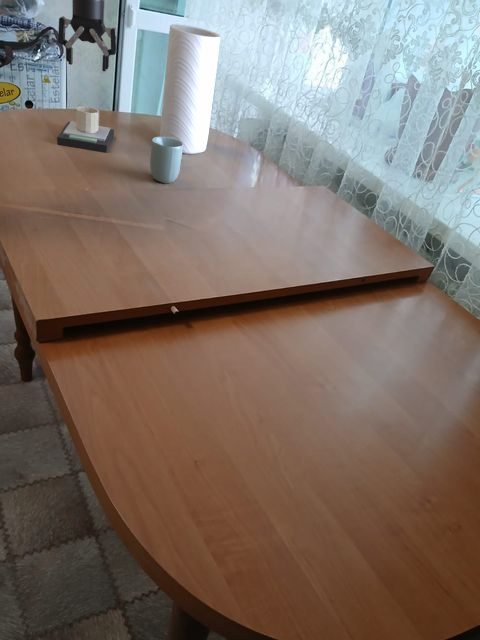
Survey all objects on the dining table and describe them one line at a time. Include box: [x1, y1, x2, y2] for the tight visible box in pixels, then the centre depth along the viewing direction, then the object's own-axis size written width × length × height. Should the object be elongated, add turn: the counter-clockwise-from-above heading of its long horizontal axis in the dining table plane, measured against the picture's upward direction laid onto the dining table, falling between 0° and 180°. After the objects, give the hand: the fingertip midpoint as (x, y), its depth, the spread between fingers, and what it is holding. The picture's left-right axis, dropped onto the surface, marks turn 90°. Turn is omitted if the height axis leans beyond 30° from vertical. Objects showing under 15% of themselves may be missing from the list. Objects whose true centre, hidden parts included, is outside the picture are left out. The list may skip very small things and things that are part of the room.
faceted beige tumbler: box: [75, 105, 100, 133], centre depth 153 cm, size 6×6×6 cm
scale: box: [56, 120, 115, 153], centre depth 154 cm, size 13×15×3 cm
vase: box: [159, 23, 221, 155], centre depth 158 cm, size 14×14×32 cm
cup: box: [149, 135, 183, 184], centre depth 140 cm, size 8×8×10 cm
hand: (87, 67), depth 143 cm, fingers open, 8 cm apart
